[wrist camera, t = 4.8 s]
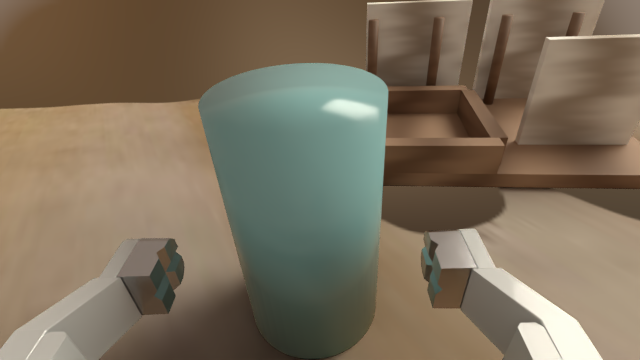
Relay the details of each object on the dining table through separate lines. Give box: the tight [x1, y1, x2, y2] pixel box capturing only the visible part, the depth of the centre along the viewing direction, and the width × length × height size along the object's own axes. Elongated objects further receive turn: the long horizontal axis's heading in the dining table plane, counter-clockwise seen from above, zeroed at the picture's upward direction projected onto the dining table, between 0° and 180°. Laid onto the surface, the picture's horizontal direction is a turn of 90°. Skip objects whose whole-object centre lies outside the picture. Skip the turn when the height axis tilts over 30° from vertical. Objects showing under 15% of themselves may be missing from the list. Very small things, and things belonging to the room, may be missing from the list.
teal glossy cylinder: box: [198, 63, 388, 359], centre depth 14 cm, size 6×6×10 cm
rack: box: [366, 0, 640, 189], centre depth 26 cm, size 20×14×9 cm
